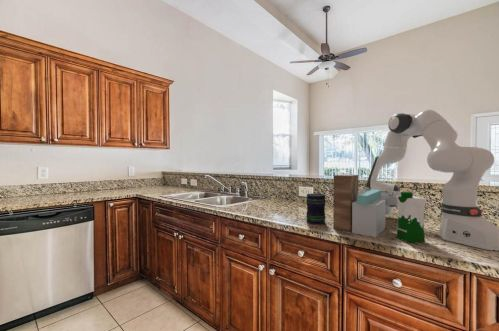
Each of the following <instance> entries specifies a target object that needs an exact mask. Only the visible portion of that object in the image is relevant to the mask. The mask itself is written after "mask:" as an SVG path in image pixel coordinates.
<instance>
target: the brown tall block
mask: <svg viewBox="0 0 499 331" xmlns="http://www.w3.org/2000/svg"><path fill="white" fill-rule="evenodd" d="M358 192H359V174H345V173H343V174H334V175H333V209H332V210H333V216H332V217H333V218H332V220H333V222H332V223H333V224H332V226H333V229H334V230H338V231H344V232H350V233H351V232H352V202H355V201H357V195H358Z"/></svg>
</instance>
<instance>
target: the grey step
mask: <svg viewBox="0 0 499 331" xmlns="http://www.w3.org/2000/svg"><path fill="white" fill-rule="evenodd" d="M385 201H386V200H380V199H378V200H376V201H374V202H372V203H370V204H368V205H361V204H357V201H355V202H352V231H351V232H352V234H356V235H361V236H365V237H372V238H377V237H379V235H380V234H381V233H382V232H384V230H385V229H386V215H385Z"/></svg>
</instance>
